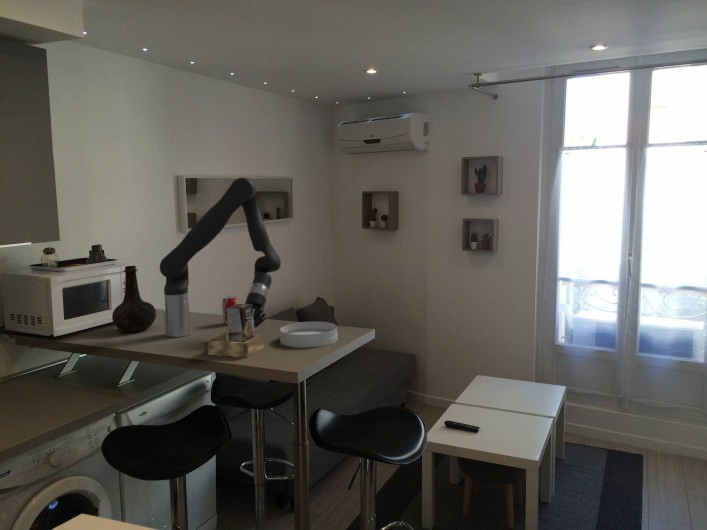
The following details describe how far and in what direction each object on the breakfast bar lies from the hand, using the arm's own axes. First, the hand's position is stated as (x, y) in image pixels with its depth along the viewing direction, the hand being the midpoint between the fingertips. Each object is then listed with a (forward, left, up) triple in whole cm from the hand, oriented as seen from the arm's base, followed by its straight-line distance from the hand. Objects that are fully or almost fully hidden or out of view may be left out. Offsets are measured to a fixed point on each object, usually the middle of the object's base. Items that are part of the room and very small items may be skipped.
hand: (244, 335), depth 207 cm
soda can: (-24, +34, -4) cm, 42 cm away
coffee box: (+1, -5, -4) cm, 6 cm away
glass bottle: (-61, +17, -4) cm, 64 cm away
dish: (+21, +12, -4) cm, 24 cm away
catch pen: (0, -7, -4) cm, 8 cm away
